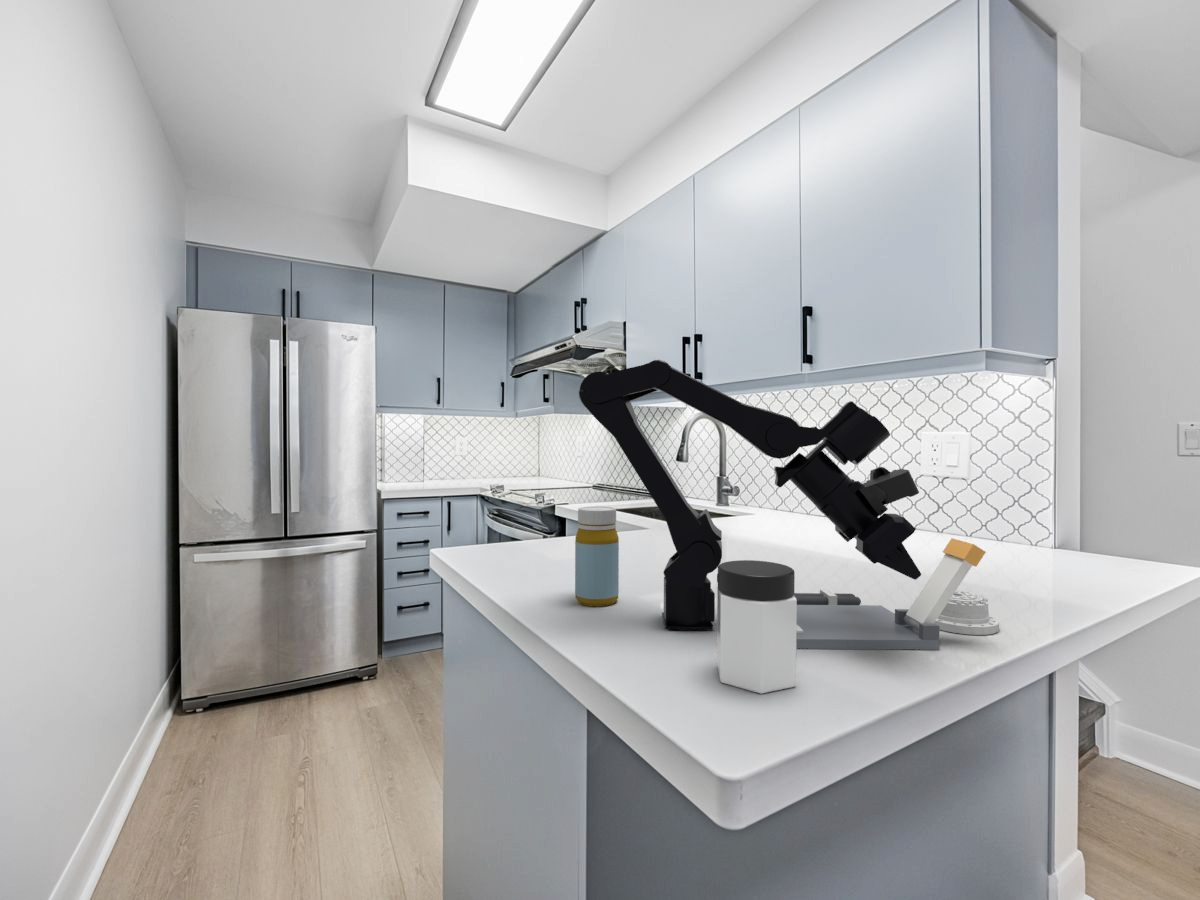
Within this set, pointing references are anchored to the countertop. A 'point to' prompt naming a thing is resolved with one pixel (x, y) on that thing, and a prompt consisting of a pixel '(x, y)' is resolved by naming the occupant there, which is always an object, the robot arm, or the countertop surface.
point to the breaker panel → (861, 628)
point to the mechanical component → (967, 615)
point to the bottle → (596, 557)
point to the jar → (756, 625)
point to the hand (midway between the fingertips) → (917, 576)
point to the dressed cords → (826, 598)
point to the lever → (943, 582)
